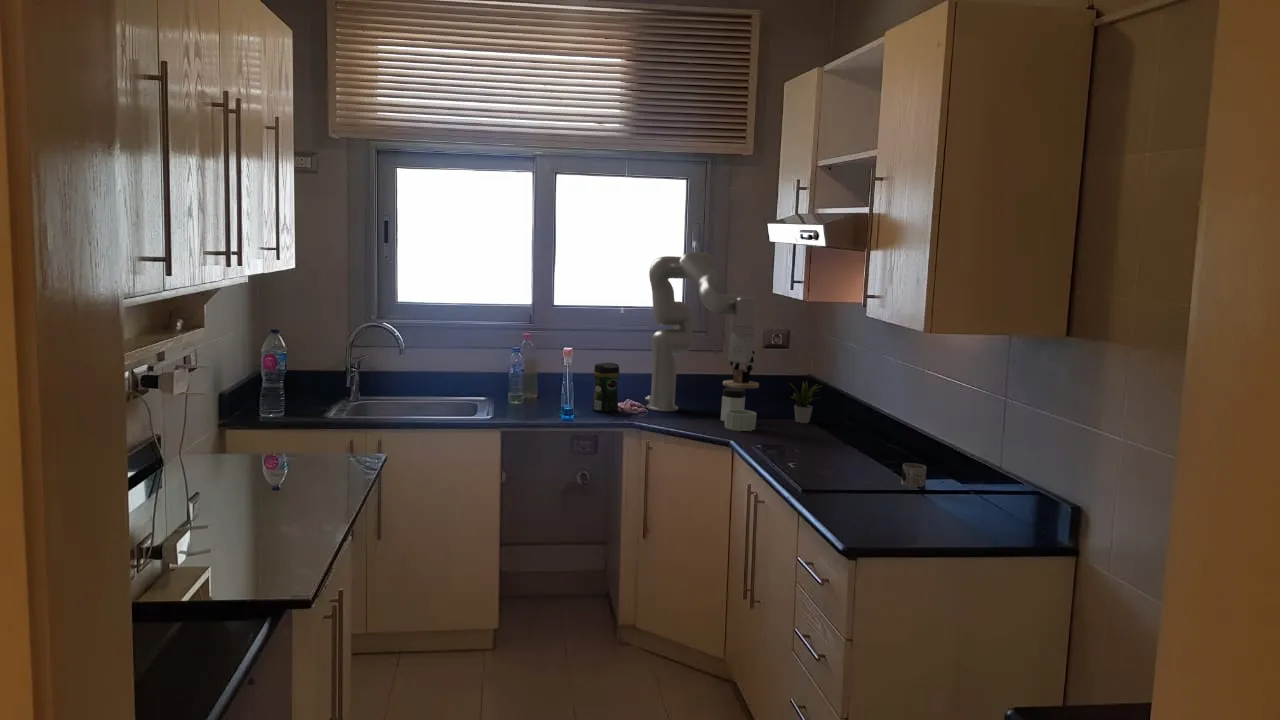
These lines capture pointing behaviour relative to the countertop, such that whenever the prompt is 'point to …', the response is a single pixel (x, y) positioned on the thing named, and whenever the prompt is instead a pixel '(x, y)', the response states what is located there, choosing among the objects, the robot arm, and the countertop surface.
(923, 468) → the mug
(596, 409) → the coffee jar
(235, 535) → the countertop surface
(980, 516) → the countertop surface
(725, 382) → the lid
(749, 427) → the bowl
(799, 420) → the house plant
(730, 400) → the jar
